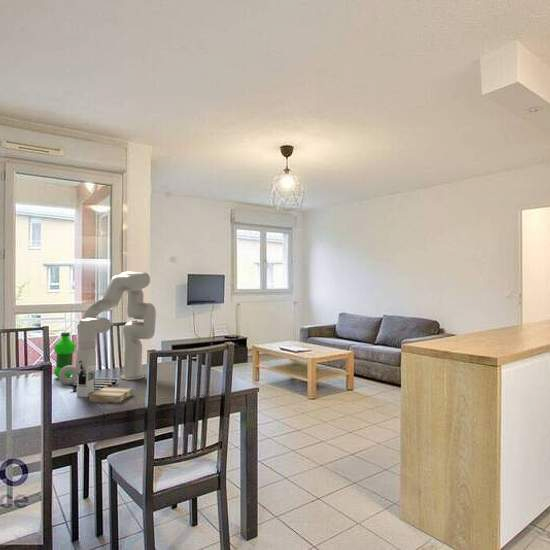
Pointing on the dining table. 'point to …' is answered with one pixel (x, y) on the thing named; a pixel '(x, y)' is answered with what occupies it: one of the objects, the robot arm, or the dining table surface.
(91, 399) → the beech base
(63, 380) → the donut
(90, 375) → the syrup box
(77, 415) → the dining table surface
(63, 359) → the plastic bottle
